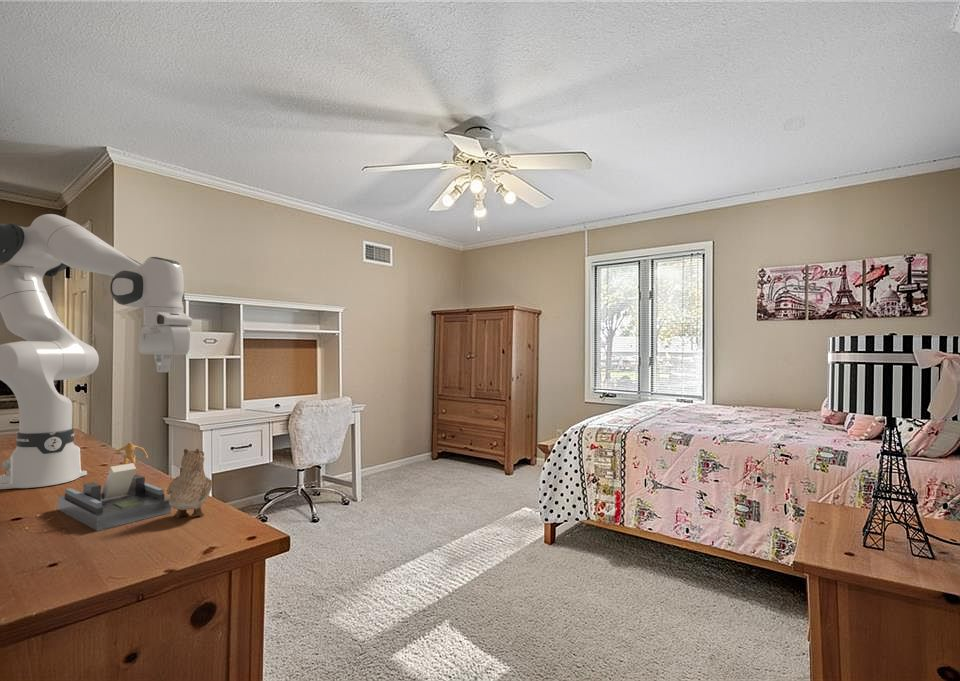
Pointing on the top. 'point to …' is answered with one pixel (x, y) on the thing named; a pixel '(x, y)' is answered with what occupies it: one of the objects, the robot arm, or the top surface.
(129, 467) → the lever
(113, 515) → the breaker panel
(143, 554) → the top surface
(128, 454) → the figurine
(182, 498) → the figurine
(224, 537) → the top surface
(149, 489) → the pair of grey bars
